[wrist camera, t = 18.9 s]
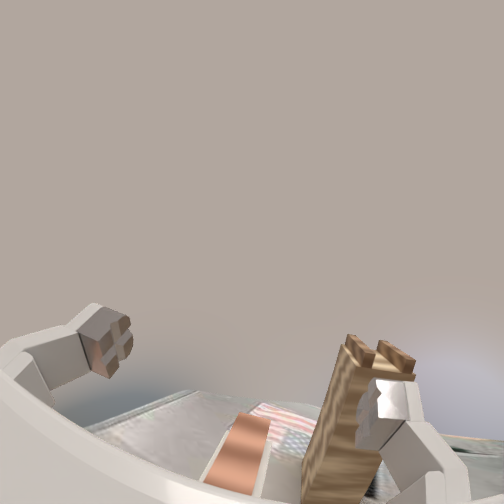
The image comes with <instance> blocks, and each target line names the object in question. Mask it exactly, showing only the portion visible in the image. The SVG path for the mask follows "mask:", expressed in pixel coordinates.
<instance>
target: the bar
mask: <svg viewBox="0 0 504 504" xmlns="http://www.w3.org/2000/svg"><path fill="white" fill-rule="evenodd" d="M270 421H271V420H269V419H265V418H261V417H257V416H253V415H249V414H245V413H241V412H239V414H238V416H237V418H236V420H235V422H234V424H233V426H232V428H231V430H230V432H229V434H228V436H227V438H226V440H225V442H224V444H223V446H222V448H221V450H220V452H219V453H218V455H217V457H216V459H215V461H214V463H213V465H212V467H211V468H210V470H209V472H208V474H207V476H206V478H205V479H204V481H203V483H206V484H209V485H212V486H216V487H219V488H223V489H226V490H230V491H233V492H237V493H241V494H245V495H250V496H252V492H253V489H254V485H255V481H256V477H257V474H258V470H259V466H260V462H261V458H262V454H263V450H264V446H265V442H266V438H267V434H268V430H269V425H270Z"/></svg>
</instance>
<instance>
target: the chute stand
mask: <svg viewBox="0 0 504 504" xmlns="http://www.w3.org/2000/svg"><path fill="white" fill-rule="evenodd" d="M415 362H416V360H415V359H413V358H412V357H410V356H409V355H407V354H406V353H404V352H402V351H401V350H399V349H398V348H396V347H395V346H393V345H392V344H390V343H389V342H387V341H383V340H379V342H378V346H377V350H371V349H369V347H367V346H366V345H365V344H364V343H363V342H362V341H361V340H360V339H359V338H358V337H357V336H356V335H350V334H348V335H347V338H346V342H345V345H343V344H341V346H340V350H339V353H338V357H337V361H336V364H335V368H334V371H333V374H332V378H331V381H330V384H329V387H328V391H327V394H326V397H325V400H324V403H323V406H322V409H321V412H320V415H319V418H318V421H317V424H316V427H315V429H314V432H313V435H312V438H311V440H310V443H309V446H308V448H307V451H306V454H305V456H304V459H303V461H302V486H301V504H359V503H360V501H361V499H362V498H363V496H364V494H365V492H366V491H367V489H368V487H369V485H370V483H371V481H372V479H373V478H374V476H375V474H376V472H377V470H378V468H379V466H380V464H381V462H382V460H383V459H382V457H381V455H380V454H379V451H375V450H365V449H357V448H355V434H356V430H357V429H358V427H359V426H360V425H359V424H358V423H357V421H356V412H357V407H358V404H359V400H360V399H361V397H362V395H363V394H364V393H366V392H368V384H369V383H370V381H371V379H373V378H374V377H375V378H382V379H390V380H399V381H409V382H414V379H415V376H416V374H414V373H413V369H414V365H415Z"/></svg>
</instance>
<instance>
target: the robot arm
mask: <svg viewBox="0 0 504 504" xmlns="http://www.w3.org/2000/svg"><path fill="white" fill-rule="evenodd" d="M130 325H131V323H130V318H129V317H128V316H126V315H124V314H121V313H119V312H117V311H114V310H112V309H109V308H107V307H104V306H101V305H99V304H97V303H91V304H89V305H88V306H87V307H86V308H85V309H84V310H82V311H81V312H80V313H79V314H78V315H77V316H76V317H74V319H72V320H71V321H70V322H69V323H68V324H67V325H66V326H63V325H59V326H56V327H53V328H49V329H45V330H42V331H38V332H35V333H31V334H28V335H24V336H20V337H17V338H13V339H10V340H9V341H8V342H7V343H5V344H4V345H3V346H2V347H1V348H0V504H290V503H284V502H278V501H273V500H268V499H263V498H258V497H254V496H250V495H245V494H241V493H237V492H233V491H230V490H226V489H223V488H219V487H216V486H212V485H209V484H206V483H203V482H200V481H197V480H194V479H191V478H188V477H185V476H182V475H180V474H177V473H174V472H172V471H169V470H167V469H164V468H162V467H159V466H157V465H155V464H152V463H150V462H148V461H145V460H143V459H141V458H139V457H136V456H134V455H132V454H130V453H128V452H126V451H124V450H122V449H120V448H118V447H116V446H114V445H112V444H110V443H108V442H106V441H104V440H103V439H101V438H99V437H97V436H95V435H94V434H92V433H90V432H88V431H87V430H85V429H83V428H82V427H80V426H78V425H77V424H75V423H73V422H72V421H70V420H69V419H67V418H65V417H64V416H62V415H60V414H59V413H58V412H56V411H55V410H53V409H52V407H53V406H54V405H55V400H54V398H53V396H52V394H51V392H50V391H51V390H53V389H55V388H57V387H59V386H61V385H64V384H66V383H68V382H70V381H72V380H74V379H76V378H79V377H81V376H83V375H85V374H87V373H89V372H91V371H93V372H95V373H97V374H99V375H101V376H104V377H106V378H108V379H110V378H111V377H112V375H113V374H114V373H115V372H116V370H117V369H118V368H119V361H121V360H124V359H126V358H127V356H128V355H129V354H130V352H131V350H132V347H133V335H132V333H131V332H130V331H129V329H128V328H129V326H130ZM90 370H91V371H90ZM356 421H357V423H358V424H359V425H360V426H359V427H358V429H357V430H356V434H355V448H357V449H365V450H375V451H379V454H380V455H381V457H382V459H383V461H384V463H385V464H386V466H387V468H388V470H389V472H390V474H391V475H392V477H393V479H394V481H395V483H396V485H397V486H398V488H399V490H400V492H401V493H400V494H398V495H397V496H396V497H394V498H393V499H391V500H390V501H389V502H387V503H386V504H504V493H503V494H499V495H495V496H492V497H487V498H483V499H479V500H474V501H471V493H470V485H469V477H468V470H467V467H466V466H465V464H464V463H463V462H462V461H461V460H460V458H459V457H458V456H457V455H456V454H455V452H454V451H453V450H452V449H451V448H450V446H449V445H448V444H447V443H446V442H445V441H444V439H443V438H442V437H441V436H440V435H439V434H438V432H437V431H436V430H435V429H434V428H433V426H432V425H431V424H430V423H429V422H425V421H424V415H423V409H422V403H421V398H420V393H419V389H418V384H417V383H416V382H409V381H399V380H390V379H382V378H375V377H374V378H373V379H371V381H370V383H369V384H368V392H366V393H364V394H363V395H362V397H361V399H360V400H359V404H358V407H357V412H356Z"/></svg>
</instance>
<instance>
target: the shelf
mask: <svg viewBox="0 0 504 504" xmlns="http://www.w3.org/2000/svg"><path fill="white" fill-rule="evenodd" d="M229 432H230V431H228V430H226V432H225V434H224V436H223V438H222V440H221V441H220V443H219V445H218V447H217V449H216V450H215V452H214V454H213V456H212V458H211V459H210V461H209V463H208V465H207V466H206V468H205V470H204V472H203V473H202V475H201V477H200V479H199V480H198V481H200V482H203V481H204V479H205V478H206V476H207V474H208V472H209V470H210V468H211V467H212V465H213V463H214V461H215V459H216V457H217V455H218V453H219V452H220V450H221V448H222V446H223V444H224V442H225V440H226V438H227V436H228V434H229ZM271 447H272V442H271V441H267V440H266V442H265V446H264V450H263V454H262V458H261V462H260V466H259V470H258V474H257V477H256V481H255V485H254V489H253V492H252V496H254V497H258V498H260V497H261V493H262V489H263V484H264V480H265V475H266V471H267V466H268V461H269V457H270V452H271Z"/></svg>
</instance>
